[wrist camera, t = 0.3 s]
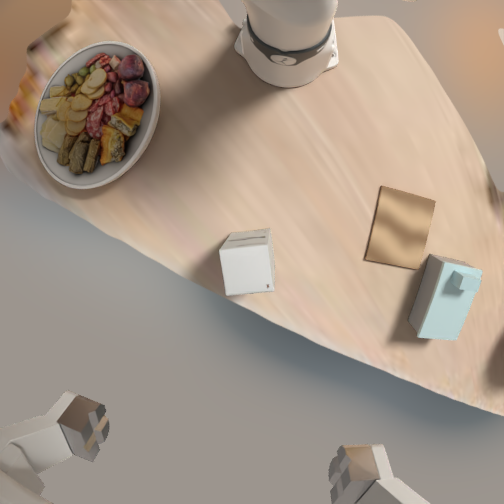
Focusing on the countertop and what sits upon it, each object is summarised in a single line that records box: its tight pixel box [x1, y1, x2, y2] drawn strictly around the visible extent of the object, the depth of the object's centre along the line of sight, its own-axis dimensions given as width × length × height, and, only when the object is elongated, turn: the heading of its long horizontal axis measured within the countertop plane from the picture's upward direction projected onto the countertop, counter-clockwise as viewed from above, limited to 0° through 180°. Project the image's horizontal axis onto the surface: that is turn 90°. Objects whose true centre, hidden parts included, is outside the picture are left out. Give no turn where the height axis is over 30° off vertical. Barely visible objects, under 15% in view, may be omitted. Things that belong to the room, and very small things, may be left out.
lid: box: [417, 261, 482, 340], centre depth 47 cm, size 16×11×4 cm
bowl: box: [34, 41, 161, 189], centre depth 47 cm, size 30×30×8 cm
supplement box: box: [219, 228, 275, 296], centre depth 50 cm, size 7×7×13 cm
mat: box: [365, 186, 436, 270], centre depth 52 cm, size 14×12×1 cm
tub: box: [408, 254, 474, 333], centre depth 52 cm, size 15×10×6 cm, turn 171°
